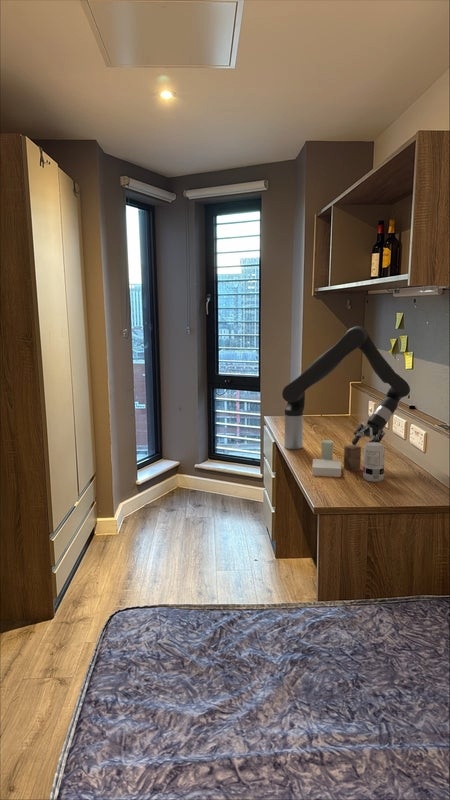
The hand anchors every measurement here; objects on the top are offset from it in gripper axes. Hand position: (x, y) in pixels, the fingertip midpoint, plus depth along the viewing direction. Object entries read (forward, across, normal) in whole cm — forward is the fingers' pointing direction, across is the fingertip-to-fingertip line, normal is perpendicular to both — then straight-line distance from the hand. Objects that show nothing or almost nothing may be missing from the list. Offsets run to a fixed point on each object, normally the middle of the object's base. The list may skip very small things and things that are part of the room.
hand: (360, 446), depth 223 cm
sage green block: (+12, -12, +1) cm, 18 cm away
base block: (+19, -2, -5) cm, 20 cm away
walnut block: (+10, 0, +4) cm, 10 cm away
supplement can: (+12, +15, +2) cm, 19 cm away
